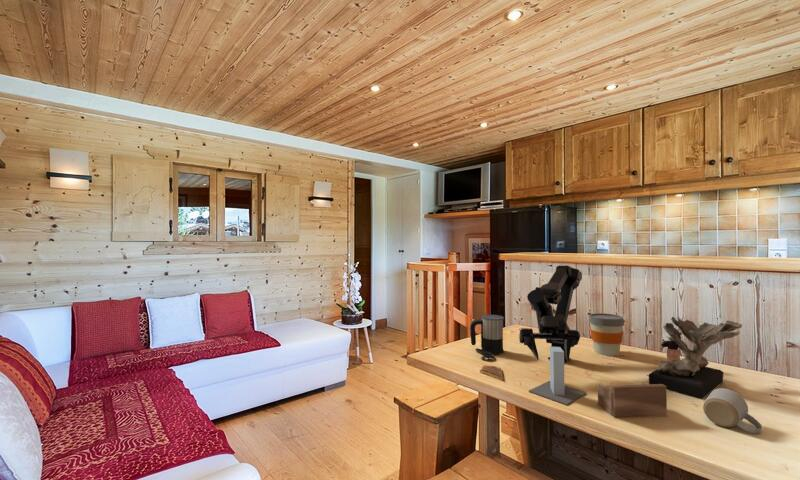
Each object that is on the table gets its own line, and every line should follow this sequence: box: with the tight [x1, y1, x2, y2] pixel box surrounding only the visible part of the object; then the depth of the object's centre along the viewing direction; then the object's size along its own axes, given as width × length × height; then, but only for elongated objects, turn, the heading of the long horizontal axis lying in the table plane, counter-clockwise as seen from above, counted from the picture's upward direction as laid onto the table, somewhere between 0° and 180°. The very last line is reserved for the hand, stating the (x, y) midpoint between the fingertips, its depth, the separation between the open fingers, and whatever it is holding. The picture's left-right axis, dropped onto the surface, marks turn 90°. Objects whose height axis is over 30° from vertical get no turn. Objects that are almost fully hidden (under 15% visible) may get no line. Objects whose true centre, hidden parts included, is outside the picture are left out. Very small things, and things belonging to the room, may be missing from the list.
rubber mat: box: [528, 380, 587, 406], centre depth 111 cm, size 12×12×1 cm
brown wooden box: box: [597, 381, 668, 419], centre depth 100 cm, size 8×14×8 cm, turn 92°
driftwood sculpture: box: [648, 316, 743, 400], centre depth 116 cm, size 25×20×22 cm
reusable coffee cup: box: [588, 312, 625, 357], centre depth 150 cm, size 13×13×15 cm
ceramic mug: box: [702, 387, 763, 435], centre depth 91 cm, size 11×8×8 cm
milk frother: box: [469, 314, 505, 360], centre depth 149 cm, size 14×16×15 cm
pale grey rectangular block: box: [549, 346, 565, 395], centre depth 111 cm, size 5×3×13 cm, turn 169°
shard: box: [479, 364, 504, 381], centre depth 127 cm, size 11×8×2 cm
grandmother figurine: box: [659, 333, 684, 361], centre depth 134 cm, size 8×4×13 cm, turn 65°
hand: (552, 360), depth 118 cm, fingers open, 9 cm apart
